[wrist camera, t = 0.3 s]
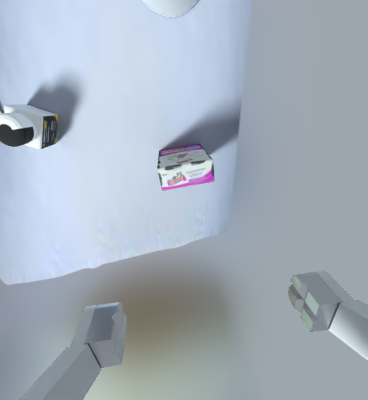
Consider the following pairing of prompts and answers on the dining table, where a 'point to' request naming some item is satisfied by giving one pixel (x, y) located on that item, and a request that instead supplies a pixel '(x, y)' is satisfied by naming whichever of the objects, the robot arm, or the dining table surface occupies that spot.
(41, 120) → the medicine bottle
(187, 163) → the candy bar box
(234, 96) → the dining table surface
